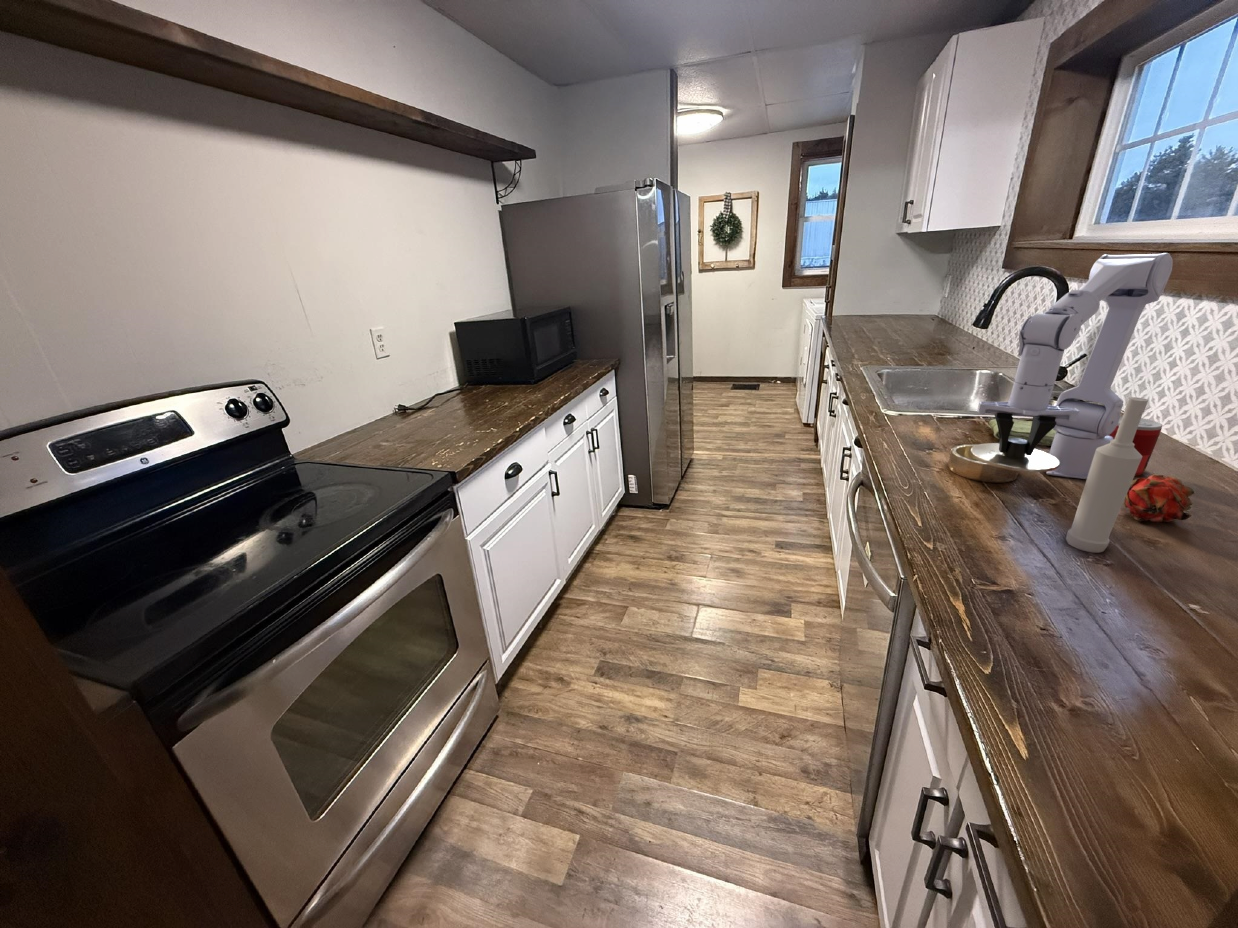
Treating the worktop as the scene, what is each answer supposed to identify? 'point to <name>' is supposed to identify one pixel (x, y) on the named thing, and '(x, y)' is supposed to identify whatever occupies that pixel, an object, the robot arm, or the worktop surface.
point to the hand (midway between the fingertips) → (1014, 452)
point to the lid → (1015, 456)
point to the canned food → (1143, 440)
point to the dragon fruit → (1158, 499)
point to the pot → (977, 467)
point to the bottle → (1107, 484)
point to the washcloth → (1023, 431)
